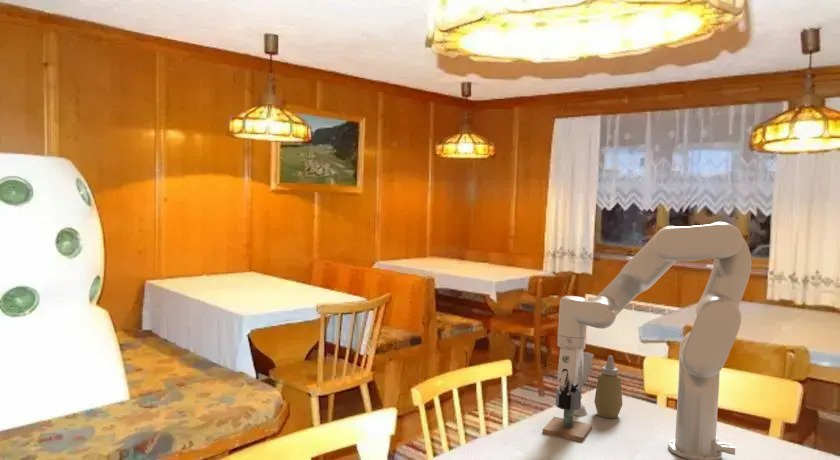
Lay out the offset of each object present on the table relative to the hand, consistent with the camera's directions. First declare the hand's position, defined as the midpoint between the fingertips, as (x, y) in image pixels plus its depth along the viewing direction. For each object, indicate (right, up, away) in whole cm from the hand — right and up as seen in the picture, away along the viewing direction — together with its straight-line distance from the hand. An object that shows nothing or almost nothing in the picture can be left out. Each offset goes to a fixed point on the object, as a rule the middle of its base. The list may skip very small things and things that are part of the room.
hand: (568, 404), depth 168 cm
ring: (0, -1, 0) cm, 1 cm away
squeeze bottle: (+15, -7, +14) cm, 22 cm away
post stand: (0, -8, 0) cm, 8 cm away
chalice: (+7, -7, +15) cm, 18 cm away
